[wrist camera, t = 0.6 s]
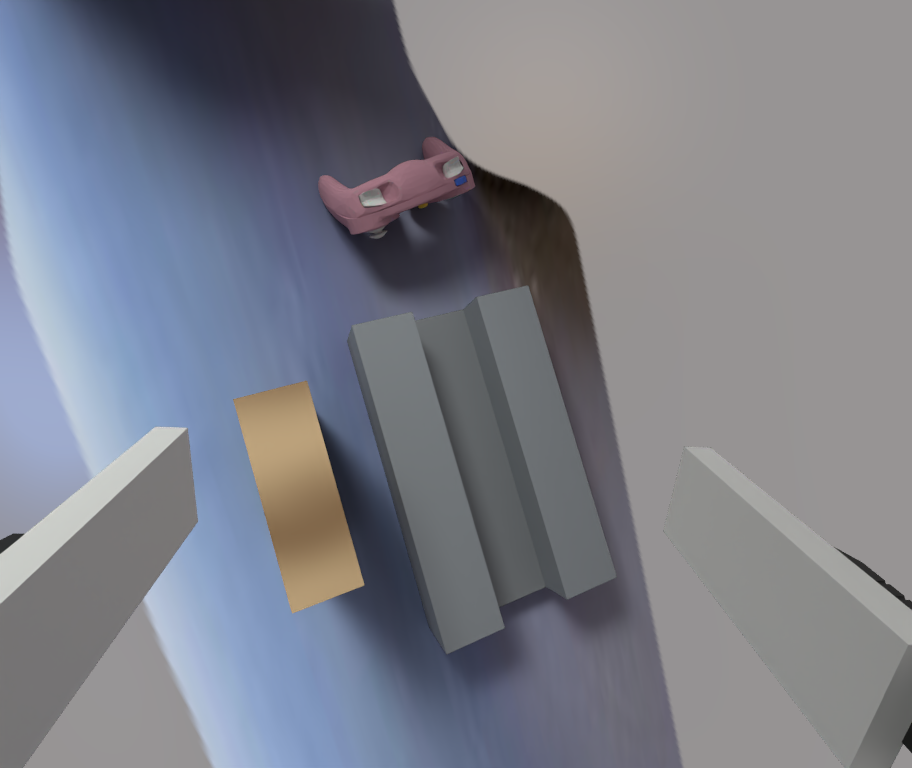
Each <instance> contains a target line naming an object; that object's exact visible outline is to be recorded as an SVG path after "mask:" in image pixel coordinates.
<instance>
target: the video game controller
mask: <svg viewBox="0 0 912 768" xmlns="http://www.w3.org/2000/svg"><path fill="white" fill-rule="evenodd" d="M422 150H423V155H424V159H425V160H410V161H406V162H403V163H400V164H399V165H397V166H396V167H394V168H393V169H392V170H390V171H389V172H388V173H387V174H386V175H383V176H381V177H378V178H376V179H373V180H370V181H368V182H366V183H364V184H362V185H360V186H358V187H355V188H352V189H349V188H347V187H345V186H343V185H342V184H341V183H339V182H338V181H337V180H335V179H334V178H333V177H331V176H326V175H323V176H321V177H320V179H319V182H318V187H319V193H320V196H321V198H322V200H323V202H324V204H325V206H326V207H327V209H328V210H329V211H330V212H331V214H332V215H333V216H334V217H335V218H336V219H337V220H338V221H339V222H340V223H342V224H343V225H345V226H346V227H347V228H349V231H350V233H351V234H359V233H363V232H369V233H374V234H372V235H370V238H375V239H377V238H380V237H383V236H384V235H385V234H386V232H387V230H382V229H383V228H384V227H385V226H386V225H388V224H389V223H390V222H392V221H393V220H395V219H397V218H398V217H399V216H400V215H399V213H401V212H403V211H406V210H409V209H411V208H414V207H416V206H418V208H425V207H426V206H427V205H428V203H433V202H438V201H442V200H448V199H451V198H454V197H457V196H459V195H460V194H463V193H465V192H467V191H469V190H471V189H473V188H474V187H475V184H474V180H473V176H472V173H471V170H470V169H469V167H468V164H467V162H466V160H465V159H464V157H463V156H462V155H461V154H460V153H459V152H457V151H455V150H453V149H452V148H450V147H449V146H448V145H447V144H445V143H444V142H443V141H441V140H440V139H438V138H436V137H427V138H425V140H424V142H423V145H422Z"/></svg>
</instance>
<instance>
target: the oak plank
mask: <svg viewBox="0 0 912 768" xmlns="http://www.w3.org/2000/svg"><path fill="white" fill-rule="evenodd" d="M233 400H234V404H235V408H236V411H237V415H238V418H239V422H240V426H241V429H242V433H243V437H244V440H245V444H246V448H247V451H248V455H249V458H250V462H251V466H252V469H253V473H254V477H255V480H256V484H257V488H258V491H259V495H260V498H261V502H262V506H263V509H264V513H265V517H266V520H267V524H268V528H269V531H270V535H271V538H272V542H273V546H274V549H275V553H276V557H277V560H278V564H279V568H280V571H281V575H282V578H283V582H284V586H285V589H286V593H287V597H288V600H289V604H290V607H291V611H292V613H295V612H297V611H300V610H302V609H305V608H307V607H310V606H313V605H315V604H318V603H320V602H323V601H325V600H328V599H331V598H333V597H336V596H338V595H341V594H343V593H346V592H349V591H351V590H354V589H356V588H359V587H361V586H364V581H363V578H362V574H361V571H360V567H359V564H358V560H357V557H356V553H355V550H354V546H353V542H352V539H351V535H350V532H349V528H348V525H347V521H346V518H345V514H344V511H343V507H342V503H341V500H340V496H339V493H338V489H337V486H336V482H335V479H334V475H333V472H332V468H331V464H330V461H329V457H328V454H327V450H326V447H325V443H324V440H323V436H322V433H321V429H320V425H319V422H318V418H317V415H316V411H315V408H314V404H313V401H312V397H311V394H310V390H309V386H308V383H307V381H304V382H300V383H296V384H292V385H288V386H284V387H280V388H276V389H272V390H268V391H264V392H260V393H256V394H252V395H248V396H245V397H241V398H237V399H233Z"/></svg>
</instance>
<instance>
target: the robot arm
mask: <svg viewBox="0 0 912 768" xmlns="http://www.w3.org/2000/svg"><path fill="white" fill-rule="evenodd" d="M197 522H198V518H197V509H196V500H195V490H194V481H193V472H192V463H191V454H190V445H189V436H188V428H175V427H155V428H154V429H152V430H151V431H150V432H149V433H147V434H146V435H145V436H144V437H143V438H141V439H140V440H139V441H138V442H137V443H135V444H134V445H133V446H132V447H130V448H129V449H128V450H127V451H126V452H124V453H123V454H122V455H121V456H119V457H118V458H117V459H116V460H115V461H113V462H112V463H111V464H110V465H108V466H107V467H106V468H105V469H104V470H102V471H101V472H100V473H99V474H98V475H96V476H95V477H94V478H93V479H91V480H90V481H89V482H88V483H87V484H85V485H84V486H83V487H82V488H81V489H79V490H78V491H77V492H76V493H74V494H73V495H72V496H71V497H69V498H68V499H67V500H66V501H65V502H63V503H62V504H61V505H60V506H59V507H57V508H56V509H55V510H54V511H52V512H51V513H50V514H49V515H48V516H46V517H45V518H44V519H43V520H42V521H40V522H39V523H38V524H37V525H35V526H34V527H33V528H32V529H30V530H29V531H28V532H27V533H26V534H12V535H10V536H8V537H6V538H4V539H2V540H0V768H23V767H24V766H25V764H26V763H27V761H28V760H29V759H30V757H31V756H32V754H33V753H34V752H35V750H36V749H37V747H38V746H39V744H40V743H41V742H42V740H43V739H44V737H45V736H46V735H47V733H48V732H49V730H50V729H51V727H52V726H53V725H54V723H55V722H56V721H57V719H58V718H59V716H60V715H61V714H62V712H63V711H64V709H65V708H66V706H67V705H68V704H69V702H70V701H71V699H72V698H73V697H74V695H75V694H76V692H77V691H78V690H79V688H80V686H81V685H82V684H83V683H84V681H85V680H86V678H87V677H88V676H89V674H90V673H91V671H92V670H93V669H94V667H95V666H96V664H97V663H98V661H99V660H100V658H101V657H102V656H103V654H104V653H105V652H106V650H107V649H108V647H109V646H110V644H111V643H112V642H113V640H114V639H115V638H116V636H117V635H118V633H119V632H120V630H121V629H122V628H123V626H124V625H125V623H126V622H127V620H128V619H129V618H130V616H131V615H132V614H133V612H134V610H135V609H136V608H137V607H138V605H139V604H140V602H141V601H142V600H143V598H144V597H145V595H146V594H147V592H148V591H149V590H150V588H151V587H152V585H153V584H154V583H155V581H156V580H157V578H158V577H159V576H160V574H161V573H162V571H163V570H164V569H165V567H166V566H167V564H168V563H169V562H170V560H171V559H172V557H173V556H174V554H175V553H176V552H177V550H178V549H179V547H180V546H181V545H182V543H183V542H184V540H185V539H186V538H187V536H188V535H189V533H190V532H191V531H192V529H193V528H194V526H195V525H196V523H197ZM663 531H664V533H665V534H666V535H667V537H668V538H669V539H670V541H671V542H672V543H673V545H674V546H675V547H676V548H677V550H678V551H679V552H680V554H681V555H682V556H683V557H684V559H685V560H686V561H687V563H688V564H689V565H690V567H691V568H692V569H693V571H694V572H695V573H696V574H697V576H698V577H699V578H700V580H701V581H702V582H703V584H704V585H705V586H706V587H707V589H708V590H709V592H710V593H711V594H712V595H713V597H714V598H715V599H716V600H717V602H718V603H719V605H720V606H721V607H722V608H723V610H724V611H725V612H726V614H727V615H728V616H729V618H730V619H731V620H732V621H733V623H734V624H735V625H736V627H737V628H738V629H739V631H740V632H741V633H742V635H743V636H744V637H745V638H746V640H747V641H748V642H749V644H750V645H751V646H752V648H753V649H754V650H755V651H756V653H757V654H758V655H759V657H760V658H761V659H762V661H763V662H764V663H765V665H766V666H767V667H768V669H769V670H770V671H771V672H772V674H773V675H774V676H775V678H776V679H777V680H778V682H779V683H780V684H781V685H782V687H783V688H784V689H785V691H786V692H787V693H788V695H789V696H790V697H791V698H792V700H793V701H794V702H795V704H796V705H797V706H798V708H799V709H800V710H801V712H802V713H803V714H804V715H805V717H806V718H807V719H808V721H809V722H810V723H811V724H812V726H813V727H814V728H815V729H816V731H817V732H818V734H819V735H820V736H821V738H822V739H823V740H824V742H825V743H826V744H827V745H828V747H829V748H830V749H831V751H832V752H833V753H834V754H835V756H836V757H837V759H838V760H839V761H840V762H841V764H842V765H843V766H844V768H891V766H892V764H893V762H894V760H895V758H896V756H897V754H898V753H899V751H900V749H901V747H902V745H903V744H904V745H905V746H906V747H907V748H908V749H909V750H910V752H911V753H912V602H911V601H910V600H905V598H904V595H903V594H901V593H900V592H899V591H897V590H896V589H895V588H894V587H892V586H891V585H889V584H886V583H885V580H884V579H882V578H881V577H880V576H879V575H877V574H876V573H875V572H873V571H872V570H871V569H870V568H868V567H867V566H866V565H865V564H863V563H862V562H860V561H859V560H857V559H855V558H853V557H851V556H849V555H848V554H846V553H844V552H842V551H840V550H839V549H837V548H835V547H833V546H832V545H830V544H829V543H828V542H827V541H826V540H824V539H823V538H822V537H821V536H819V535H818V534H817V533H816V532H814V531H813V530H812V529H811V528H809V527H808V526H807V525H805V523H803V522H802V521H801V520H799V519H798V518H797V517H796V516H795V515H793V514H792V513H791V512H789V511H788V510H787V509H786V508H785V507H783V506H782V505H781V504H780V503H779V502H777V501H776V500H775V499H773V498H772V497H771V496H770V495H769V494H767V493H766V492H765V491H764V490H762V489H761V488H760V487H759V486H757V485H756V484H755V483H754V482H752V481H751V480H750V479H749V478H748V477H746V476H745V475H744V474H742V473H741V472H740V471H739V470H738V469H736V468H735V467H734V466H733V465H731V464H730V463H729V462H728V461H726V460H725V459H724V458H723V457H722V456H720V455H719V454H718V453H717V452H715V451H714V450H713V449H712V448H710V447H684V449H683V453H682V458H681V461H680V465H679V470H678V474H677V478H676V482H675V486H674V490H673V494H672V498H671V502H670V506H669V510H668V514H667V518H666V522H665V526H664V530H663Z"/></svg>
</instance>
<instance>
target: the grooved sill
mask: <svg viewBox="0 0 912 768" xmlns="http://www.w3.org/2000/svg"><path fill="white" fill-rule="evenodd" d="M347 342H348V346H349V349H350V353H351V356H352V360H353V363H354V367H355V370H356V374H357V377H358V381H359V384H360V388H361V391H362V394H363V398H364V401H365V405H366V408H367V412H368V415H369V419H370V422H371V426H372V429H373V433H374V436H375V440H376V443H377V447H378V450H379V454H380V457H381V461H382V464H383V468H384V471H385V475H386V478H387V482H388V485H389V489H390V492H391V496H392V499H393V503H394V506H395V510H396V513H397V517H398V520H399V524H400V527H401V531H402V534H403V537H404V541H405V544H406V548H407V551H408V555H409V558H410V562H411V565H412V569H413V572H414V576H415V579H416V583H417V586H418V590H419V593H420V597H421V600H422V604H423V607H424V611H425V614H426V618H427V621H428V625H429V628H430V629H431V631H432V633H433V634H434V636H435V637H436V639H437V640H438V642H439V644H440V645H441V647H442V648H443V650H444V651H445V653H446V654H449V653H451V652H453V651H455V650H458V649H460V648H462V647H464V646H466V645H469V644H471V643H473V642H475V641H477V640H480V639H482V638H484V637H486V636H488V635H491V634H493V633H495V632H497V631H499V630H502V629H504V628H505V627H504V623H503V620H502V616H501V613H500V610H499V607H501V606H504V605H506V604H508V603H510V602H513V601H515V600H517V599H519V598H522V597H524V596H526V595H529V594H531V593H533V592H535V591H538V590H540V589H542V588H545V587H547V588H549V589H550V590H552V591H554V592H555V593H557V594H559V595H560V596H562V597H564V598H565V599H567V600H568V599H570V598H572V597H574V596H576V595H579V594H581V593H583V592H585V591H587V590H590V589H592V588H594V587H596V586H598V585H601V584H603V583H605V582H607V581H609V580H612V579H614V578H616V577H617V575H616V572H615V569H614V566H613V562H612V559H611V556H610V552H609V549H608V546H607V543H606V539H605V536H604V533H603V529H602V526H601V523H600V520H599V516H598V513H597V510H596V506H595V503H594V500H593V497H592V493H591V490H590V487H589V483H588V480H587V477H586V474H585V470H584V467H583V464H582V460H581V457H580V454H579V451H578V447H577V444H576V441H575V437H574V434H573V431H572V428H571V424H570V421H569V418H568V414H567V411H566V408H565V405H564V401H563V398H562V395H561V391H560V388H559V385H558V382H557V378H556V375H555V372H554V369H553V365H552V362H551V359H550V355H549V352H548V349H547V346H546V342H545V339H544V336H543V332H542V329H541V326H540V323H539V319H538V316H537V313H536V309H535V306H534V303H533V300H532V296H531V293H530V290H529V286H523V287H519V288H515V289H510V290H506V291H501V292H497V293H493V294H488V295H484V296H479V297H476V298H475V299H474V300H473V301H472V302H471V303H470V304H469V305H468V306H467V307H465V308H464V309H463V310H459V311H455V312H451V313H446V314H442V315H438V316H433V317H429V318H425V319H421V320H416V321H415V320H414V316H413V313H412V312H409V313H405V314H400V315H396V316H392V317H387V318H383V319H378V320H374V321H370V322H365V323H361V324H356V325H352V327H351V330H350V333H349V337H348V340H347Z"/></svg>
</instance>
